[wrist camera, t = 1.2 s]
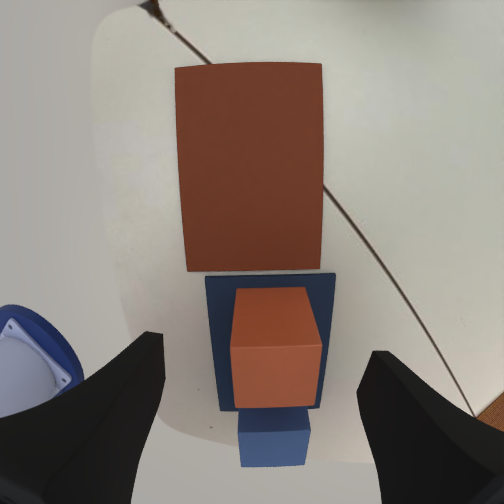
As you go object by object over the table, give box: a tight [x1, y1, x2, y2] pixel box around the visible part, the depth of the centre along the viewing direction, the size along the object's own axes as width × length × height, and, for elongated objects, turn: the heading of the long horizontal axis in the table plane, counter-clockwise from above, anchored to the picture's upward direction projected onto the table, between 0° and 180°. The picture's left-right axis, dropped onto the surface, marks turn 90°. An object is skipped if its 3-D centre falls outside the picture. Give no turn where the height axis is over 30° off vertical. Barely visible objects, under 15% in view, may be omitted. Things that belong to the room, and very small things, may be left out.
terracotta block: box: [230, 287, 322, 408], centre depth 18 cm, size 4×4×6 cm
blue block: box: [238, 406, 311, 467], centre depth 20 cm, size 4×4×6 cm
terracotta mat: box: [175, 62, 324, 272], centre depth 17 cm, size 12×8×1 cm, turn 1°
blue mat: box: [205, 273, 336, 411], centre depth 22 cm, size 12×8×1 cm, turn 1°
